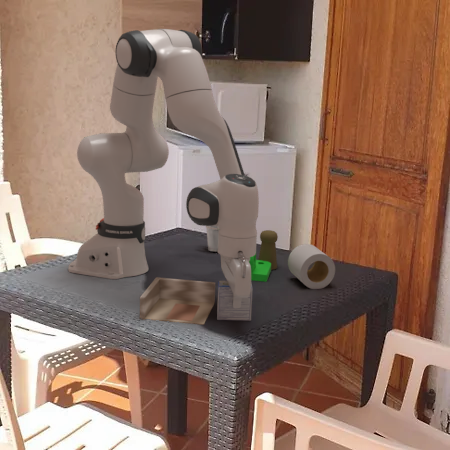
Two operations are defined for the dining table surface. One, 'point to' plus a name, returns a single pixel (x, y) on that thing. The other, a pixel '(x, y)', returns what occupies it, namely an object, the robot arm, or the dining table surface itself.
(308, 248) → the toilet paper
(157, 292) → the arena
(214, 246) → the cup with straw
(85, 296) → the dining table surface
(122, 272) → the robot arm
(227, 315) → the medicine box
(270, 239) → the cork
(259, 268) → the mechanical part
